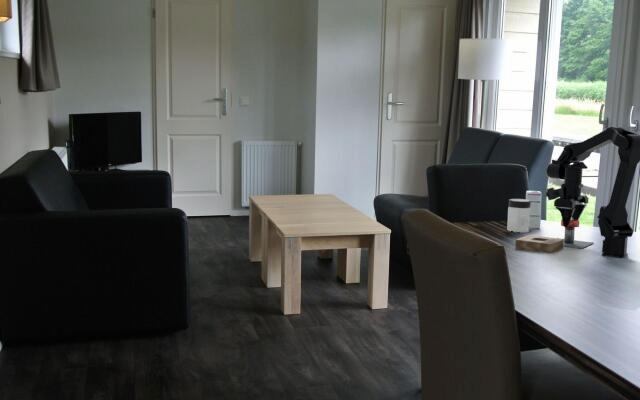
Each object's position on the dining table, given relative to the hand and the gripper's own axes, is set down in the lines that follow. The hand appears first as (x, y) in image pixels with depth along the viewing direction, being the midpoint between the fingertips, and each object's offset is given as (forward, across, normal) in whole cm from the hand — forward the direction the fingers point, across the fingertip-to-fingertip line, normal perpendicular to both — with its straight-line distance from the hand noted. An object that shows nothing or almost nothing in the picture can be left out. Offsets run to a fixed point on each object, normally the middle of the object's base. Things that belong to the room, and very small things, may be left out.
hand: (570, 225), depth 241 cm
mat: (+6, 0, 0) cm, 6 cm away
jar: (+7, -14, -24) cm, 29 cm away
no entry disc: (+6, 0, 0) cm, 6 cm away
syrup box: (+7, -26, -23) cm, 35 cm away
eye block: (+6, +15, -5) cm, 17 cm away
